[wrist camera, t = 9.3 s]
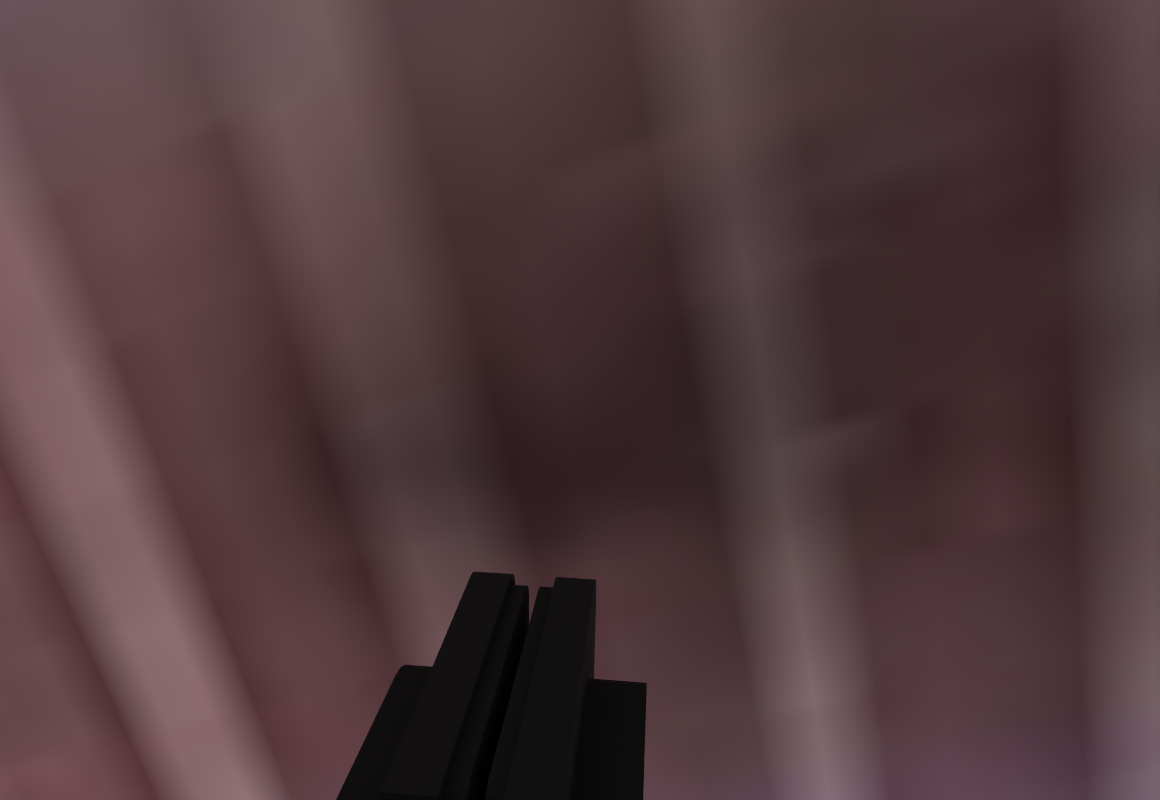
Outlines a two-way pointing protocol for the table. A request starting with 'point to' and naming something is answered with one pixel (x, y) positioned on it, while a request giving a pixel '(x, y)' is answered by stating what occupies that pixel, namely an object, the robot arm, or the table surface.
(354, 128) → the table surface
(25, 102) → the table surface
